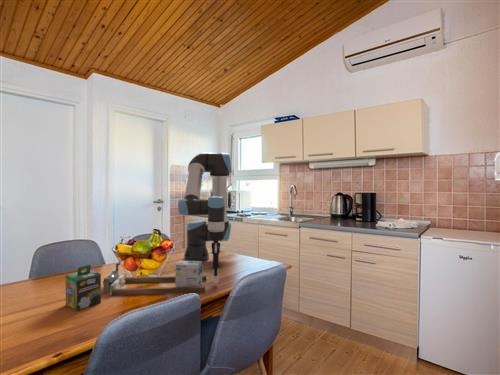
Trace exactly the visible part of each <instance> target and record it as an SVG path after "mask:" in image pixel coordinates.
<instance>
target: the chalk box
mask: <svg viewBox="0 0 500 375" xmlns="http://www.w3.org/2000/svg"><path fill="white" fill-rule="evenodd" d="M91 268H92V266H91V264H88V265H83V266H80V267H78V268H77V271H76V272H74V273H70V274H67V275H66V274H65V276H64V278H65V281H64V282H65V305H66V306H67V307H69V308H70V309H73V310H75V311H77V312H78V311H80V310H83V309H87V308H89V307H92V306H95V305H99V304H101V303H102V296H101V295H102V293H101V292H102V280H101V279H102V278H101V277H102V276H101V275H102V273H100V272H97V271H95V270H92V269H91Z"/></svg>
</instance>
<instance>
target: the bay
mask: <svg viewBox="0 0 500 375" xmlns="http://www.w3.org/2000/svg"><path fill="white" fill-rule="evenodd" d="M175 278H176V277H175V275H170V276H169V275H168V276H167V275H166V276H133V277H131V276H129V277H127V273H126V272H124V273H122V274H121V275H119V278H118V279H117V280H116V281H115V282H114V283H113V284H111V285H110V292H109V293H110V296H125V295H126V296H127V295H129V296H130V295H155V294H161V295H162V294H184V293H185V294H189V293H205V292H206V286H205V285H203V286H202V285H201V286H195V287H175V286H165V287H135V288H133V287H131V288H129V287H128V288H123V286H124V285H125V284H128V283H129V284H131V283H133V284H134V283H135V284H136V283H137V284H138V283H165V282H166V283H167V282H169V283H170V282H171V283H172V282H175ZM204 281H207V275H203V274H202V282H204Z"/></svg>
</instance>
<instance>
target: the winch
mask: <svg viewBox="0 0 500 375" xmlns="http://www.w3.org/2000/svg"><path fill="white" fill-rule="evenodd" d="M120 265H121V262H117V263H116V264H115V270H112V273H110V274H109V275H108V276H107V277H105V278H103V281H102V285H103V294H109V293H110V285H111V284H113V283H114V282H115V281H116V280H117V279H118V278H119V277H120V274H119V266H120Z"/></svg>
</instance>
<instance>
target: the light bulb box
mask: <svg viewBox="0 0 500 375" xmlns="http://www.w3.org/2000/svg"><path fill="white" fill-rule="evenodd" d="M174 270H175V271H174V272H175V275H174V276H175V277H176V278H175V281H174V282H175V285H174V287H195V286H202V285H203V281H202V276H203V261H186V260H179V261H178V262H177V263H175V269H174Z"/></svg>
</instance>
